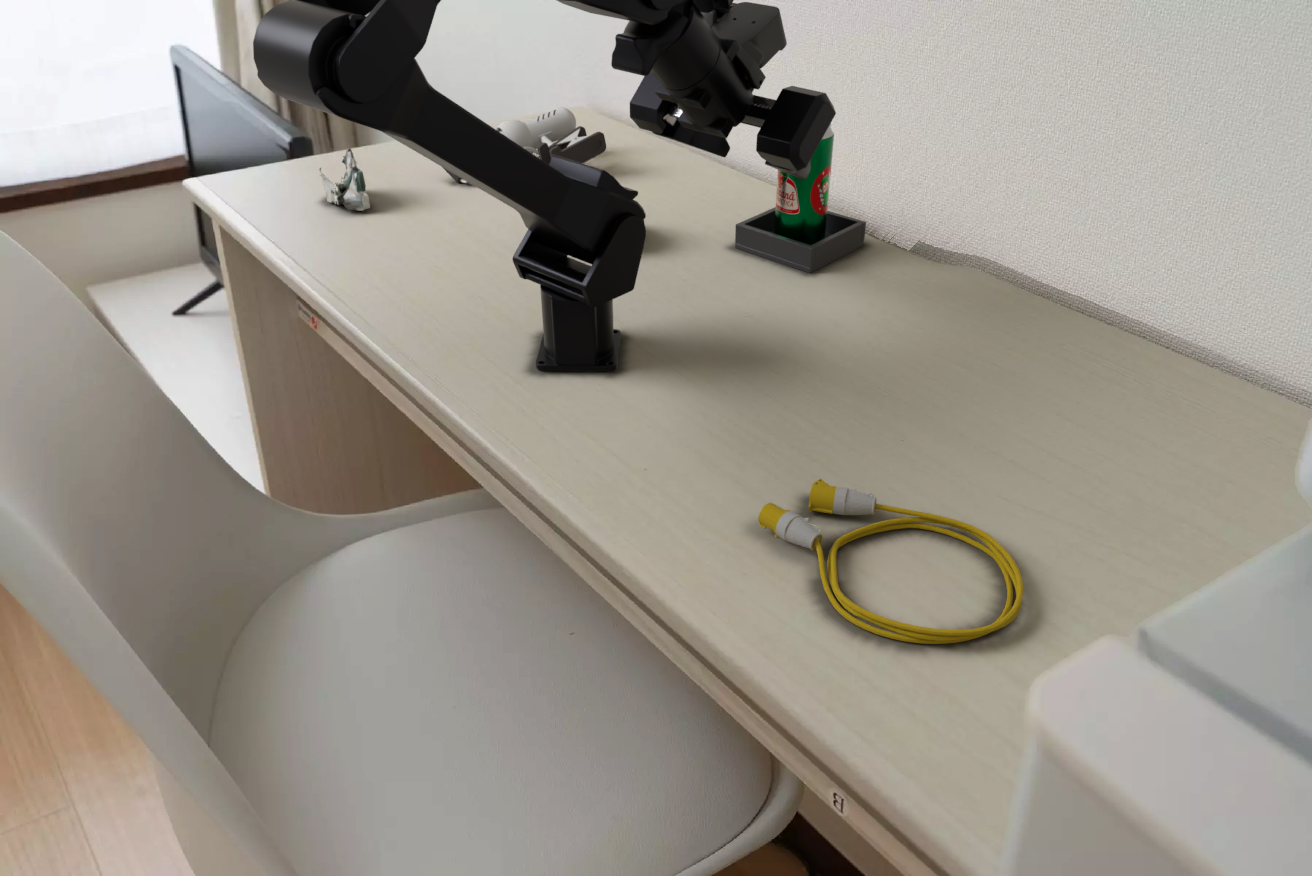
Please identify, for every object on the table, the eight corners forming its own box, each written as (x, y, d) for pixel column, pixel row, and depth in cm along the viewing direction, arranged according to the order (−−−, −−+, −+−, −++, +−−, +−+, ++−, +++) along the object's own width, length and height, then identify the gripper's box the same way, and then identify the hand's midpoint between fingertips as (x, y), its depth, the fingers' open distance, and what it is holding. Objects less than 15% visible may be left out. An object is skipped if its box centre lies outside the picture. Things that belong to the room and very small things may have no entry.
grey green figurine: (352, 190, 121) (342, 129, 117) (375, 211, 115) (365, 148, 111) (315, 197, 119) (303, 135, 115) (336, 219, 113) (325, 155, 110)
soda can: (765, 236, 107) (772, 117, 101) (810, 230, 109) (820, 112, 102) (786, 255, 103) (794, 132, 97) (833, 248, 105) (844, 126, 98)
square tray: (810, 273, 101) (812, 248, 100) (734, 247, 106) (735, 224, 105) (864, 245, 107) (866, 221, 105) (790, 222, 112) (791, 199, 111)
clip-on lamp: (474, 222, 120) (613, 164, 125) (459, 173, 116) (603, 114, 121) (439, 182, 128) (571, 129, 133) (423, 134, 124) (560, 81, 129)
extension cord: (901, 473, 73) (905, 448, 72) (1065, 614, 61) (1072, 588, 60) (745, 518, 69) (746, 493, 68) (889, 680, 57) (893, 653, 56)
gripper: (833, -13, 79) (894, 107, 92) (650, -40, 90) (728, 71, 103) (762, 114, 79) (834, 217, 92) (587, 72, 90) (673, 169, 102)
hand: (765, 163), depth 97 cm, fingers open, 9 cm apart
